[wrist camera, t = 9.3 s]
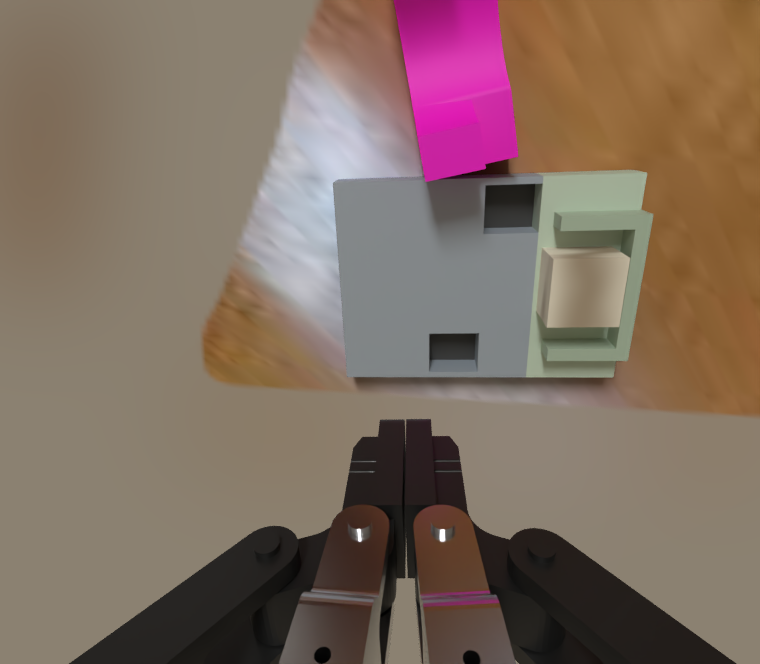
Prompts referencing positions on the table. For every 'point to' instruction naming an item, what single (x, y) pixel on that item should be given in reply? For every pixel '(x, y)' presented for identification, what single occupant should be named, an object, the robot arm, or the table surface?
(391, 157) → the table surface
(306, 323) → the table surface
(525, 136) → the table surface
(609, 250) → the birch block
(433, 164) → the toy block
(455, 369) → the board
